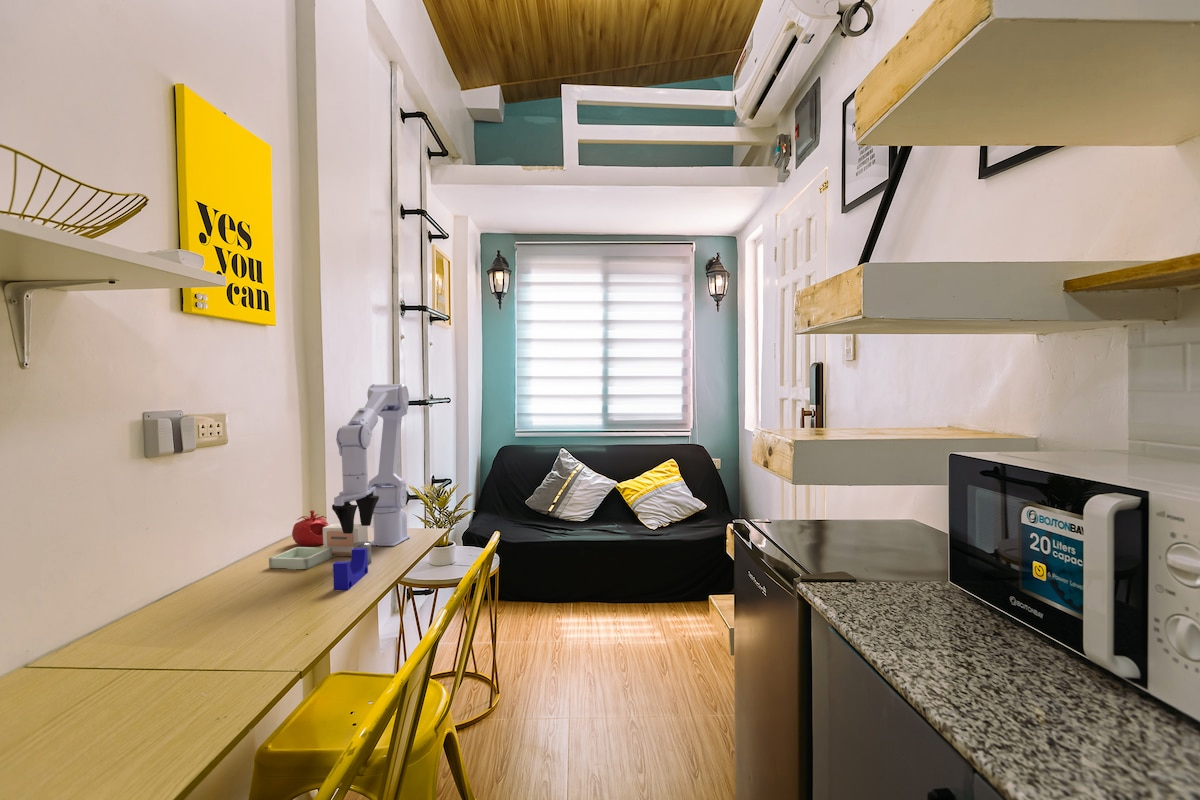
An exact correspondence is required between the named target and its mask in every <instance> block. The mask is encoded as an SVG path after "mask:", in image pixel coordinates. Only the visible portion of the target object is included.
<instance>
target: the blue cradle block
mask: <svg viewBox="0 0 1200 800" xmlns="http://www.w3.org/2000/svg"><path fill="white" fill-rule="evenodd" d="M332 572H333V573H332V574H333V575H332V578H333V591H334V590H342V591H349V590H350V589H352V588H353V586H355V585H356V584H357V583H358V582H359V581H361V580H362V579H363V578H364V577H366V575H367V574H368V573H369V565H368V556H367V548H354V549H352V557H350V560H349V561H334V563H332Z"/></svg>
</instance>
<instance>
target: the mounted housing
mask: <svg viewBox="0 0 1200 800" xmlns="http://www.w3.org/2000/svg"><path fill="white" fill-rule="evenodd" d="M368 533H369V531H368V526H362V525H361V523H354V528H353V533H351V534H346V533H343V530H342V527H341V524H340V523H332V524H328V526H326V527H323V544H322V548H332V557H336V556H352V549H353V544H354V543H357V542H363V541H368V542H369V540H368V539H369V534H368ZM371 550H372V551H373V547H371Z"/></svg>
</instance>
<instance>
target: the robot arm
mask: <svg viewBox="0 0 1200 800" xmlns="http://www.w3.org/2000/svg"><path fill="white" fill-rule="evenodd" d="M366 394H367V402H366V404H365V406H364V407H359V408H358V410H357V411H355V414H354V415H353V416H352V418H351V419H350V420H349V422H348V423H347V425H345V424H344V425H341V427H339V428H338V429H337V432H336V437H335V440H336V445H337V447H338V454H339V456H340V457H341V472H342V473H341V474H342V491H340V492H339V494H338V495H337V496H336V497H335V496H334V497H333V500H334V501H333V503H334V504H332V506H331V510H332V511H334V513H335V514H336V516H337V518H338V521H339V524H341V527H342V530H343V533H346V534H351V533H353V528H354V524H355V516H356V515H355V514H356V511H357V508H358V512H359V520H360V524H361V525H362V526H367V527H370V526H371V524H373V540H372V541H370V542H371V546H376V545H377V546H384V547H386V546H387V547H395V546H397V545H398V544H401V543H402V542H404V541H406V540H407V539H409V538H411V535H409V534H408V520H407V519H408V517H407V513H406V511H405V510H404V507H405V506H406V504H407V500H408V499H407V498H408V494H407V493H408V492H407V484H406V482H405V480H404V479H403V478H401V477H400V476H398V466H399V465H398V464H399V453H400V452H399V451H400V441H401V432H402V431H401V429H402V421H403V417H405V416H406V415H407V414H408V410H409V403H410V402H409V401H410V400H409V399H410V394H409V390H408V387H407V385H406V384H405V383H402V382H401V383H396V384H394V383H392V384H391V383H390V384H389V383H388V384H375V383H374V384H373V383H371V384H370V386H368V389H367V393H366ZM379 417H380V418H382V421H383V422H382V432H381V440H380V442H381V443H380V450H379V451H380V452H379V461H378V462H379V464H378V472H377V473H378V474H377V475H375V476H374V477H373V478H371V479H370V480H369V477H368V451H367V449H368V448H369V446H370V444H371V440H372V438H371V437H372V436H373V435H372V434H373V432H372V431H373V430H374V428H375V427H376V426H377V423H378V422H379ZM354 501H355V502H356V504H352V503H351V502H354ZM372 522H373V523H372Z"/></svg>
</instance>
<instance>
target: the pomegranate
mask: <svg viewBox="0 0 1200 800" xmlns="http://www.w3.org/2000/svg"><path fill="white" fill-rule="evenodd" d="M309 513H310V516H306V515H302V516H300V517H299V518H298V519H296V521H298V520H299V521H298V522H296V523H295V524H294V525H293V527H292V531H291V536H292V540H293V541H294V542H295V544H297V545H299V547H316V546H317V547H318V546H320V545H323V527H326V526H328V525H329V523H328V522H327V520H326V519H327V518H328V517H327V516H324V515H321V516H320V514H319V513H315V510H310V511H309ZM317 516H318V517H317ZM301 519H302V520H301Z"/></svg>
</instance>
